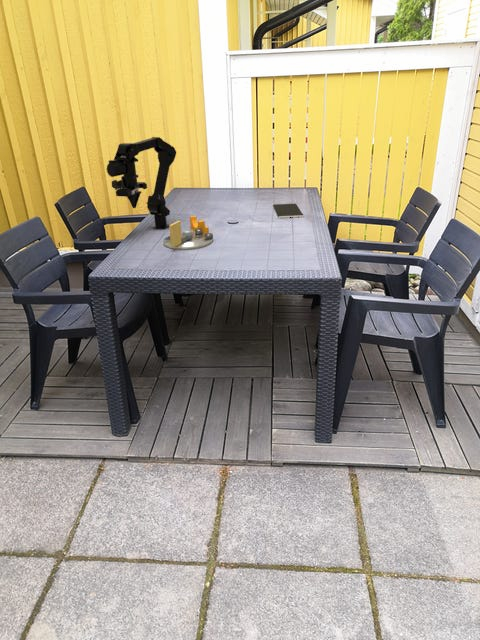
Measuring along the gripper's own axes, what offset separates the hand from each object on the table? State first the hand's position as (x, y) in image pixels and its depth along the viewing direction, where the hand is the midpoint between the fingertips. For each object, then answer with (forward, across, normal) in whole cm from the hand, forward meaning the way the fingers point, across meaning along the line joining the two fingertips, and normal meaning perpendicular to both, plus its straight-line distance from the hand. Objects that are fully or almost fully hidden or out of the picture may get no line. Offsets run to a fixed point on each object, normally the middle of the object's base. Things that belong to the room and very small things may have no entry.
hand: (134, 208), depth 221 cm
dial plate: (+13, +5, +28) cm, 31 cm away
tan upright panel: (+11, +10, +27) cm, 31 cm away
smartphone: (+14, -56, +60) cm, 83 cm away
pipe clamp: (+13, -12, +27) cm, 32 cm away
